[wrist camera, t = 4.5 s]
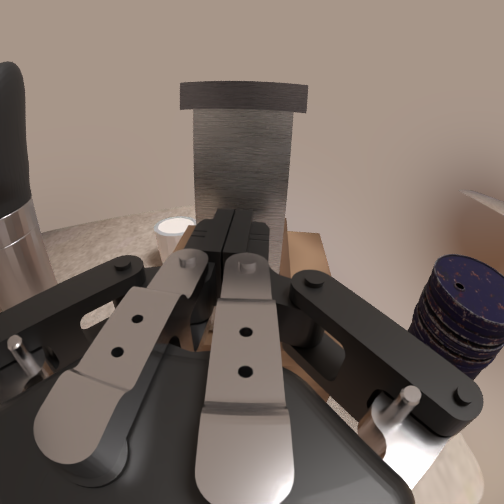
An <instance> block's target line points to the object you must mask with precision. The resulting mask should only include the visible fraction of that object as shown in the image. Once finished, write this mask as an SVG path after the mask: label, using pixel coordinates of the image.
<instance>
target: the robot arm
mask: <svg viewBox="0 0 504 504" xmlns="http://www.w3.org/2000/svg"><path fill="white" fill-rule="evenodd" d="M25 122H26V121H25V88H24V82H23V77H22V74H21V71H20V69H19V68H18V66H17V65H16V64H14V63H13V62H3V63H0V308H1V310H2V312H1V313H0V504H415V500H414V496H413V493H412V491H411V489H412V487H413V486H414V485H415V484H416V483H417V482H418V480H419V479H420V478H421V477H422V475H423V474H424V473H425V472H426V470H427V469H428V468H429V467H430V465H431V464H432V463H433V461H434V460H435V459H436V457H437V456H438V454H439V453H440V452H441V450H442V449H443V447H444V446H445V444H446V443H447V442H448V441H449V440H450V439H452V438H453V437H454V436H455V435H457V434H458V433H459V432H460V431H461V430H462V429H463V428H465V427H466V426H467V425H468V424H469V423H470V422H472V420H474V419H475V418H476V417H477V416H478V415H479V414H480V412H481V410H482V407H483V395H482V392H481V391H480V388H479V387H478V385H477V384H476V383H475V382H474V381H473V380H472V379H470V378H469V377H468V376H467V375H465V374H464V373H463V372H461V371H460V370H459V369H457V368H456V367H455V366H453V365H452V364H451V363H450V362H448V361H447V360H446V359H444V358H443V357H442V356H440V355H439V354H438V353H436V352H435V351H434V350H432V349H431V348H430V347H428V346H427V345H426V344H424V343H423V342H422V341H420V340H419V339H417V338H416V337H415V336H413V335H412V334H411V333H409V332H408V331H407V330H405V329H404V328H403V327H401V326H400V325H398V324H397V323H396V322H394V321H393V320H392V319H390V318H389V317H387V316H386V315H385V314H383V313H382V312H380V311H379V310H378V309H376V308H375V307H373V306H372V305H371V304H369V303H368V302H366V301H365V300H364V299H362V298H361V297H360V296H358V295H356V294H355V293H354V292H353V291H351V290H349V289H348V288H347V287H345V286H344V285H343V284H341V283H340V282H338V281H337V280H335V279H334V278H333V277H331V276H330V275H328V274H326V273H324V272H322V271H318V270H310V269H309V270H302V271H299V272H297V273H295V274H294V275H293V276H292V278H288V277H285V276H282V275H280V274H278V273H276V272H275V271H273V270H272V269H271V268H270V266H269V263H268V259H269V235H270V228H269V227H268V226H267V224H266V223H265V222H253V210H238V209H236V211H235V209H219V208H218V209H217V211H216V213H215V215H214V217H213V219H204V220H202V221H201V222H199V223H198V224H197V225H196V227H195V228H194V231H193V232H192V234H191V236H190V238H189V240H188V241H187V243H186V245H185V247H184V249H182V250H178V251H176V252H174V253H172V254H171V255H169V257H168V258H167V259H166V261H165V262H164V263H163V265H162V266H159V267H151V268H144V265H143V261H142V260H141V259H140V258H139V257H137V256H132V255H125V256H120V257H117V258H114V259H112V260H110V261H107V262H105V263H103V264H101V265H98V266H96V267H94V268H92V269H90V270H87V271H85V272H83V273H81V274H79V275H77V276H74V277H72V278H70V279H68V280H66V281H64V282H62V283H59V284H58V283H57V280H56V278H55V275H54V272H53V269H52V266H51V263H50V261H49V257H48V254H47V251H46V248H45V245H44V242H43V238H42V235H41V232H40V228H39V224H38V220H37V217H36V213H35V209H34V204H33V200H32V195H31V190H30V184H29V162H28V154H27V145H26V123H25ZM111 301H113V304H114V307H115V310H114V312H113V313H112V315H111V316H110V317H109V318H107V319H105V320H103V321H101V322H99V323H97V324H95V325H94V326H92V327H90V328H88V329H81V326H80V321H81V319H82V317H83V316H84V315H85V314H87V313H89V312H91V311H93V310H95V309H97V308H99V307H101V306H103V305H105V304H107V303H109V302H111ZM214 306H216V313H215V321H214V328H213V336H212V344H211V351H202V349H203V346H204V343H205V340H206V338H207V335H208V332H209V329H210V326H211V324H212V313H213V309H214ZM324 331H327V332H328V333H329V334H330V335H331V336H332V337H334V338H335V339H336V340H337V341H338V342H339V343H340V344H341V345H342V346H343V348H344V349H343V348H342V347H341V346H340V345H339V344H337V343H336V342H335V341H334V340H333V339H332V338H330V337H329V336H328V335H327V334H326V333H325V332H324ZM280 342H281V343H282V348H283V349H284V351H285V352H286V353H287V354H288V355H289V356H290V357H291V358H292V359H293V360H294V361H295V362H296V363H297V364H298V365H299V366H300V367H301V368H302V369H303V370H304V371H305V372H306V373H307V374H308V375H309V376H310V377H311V378H312V379H313V380H314V381H315V382H316V383H317V384H318V385H319V386H320V387H321V388H323V389H324V390H325V391H326V392H327V393H328V394H329V395H330V396H331V397H332V398H333V399H334V400H335V401H336V402H337V403H338V404H339V405H340V406H341V407H343V408H344V409H345V410H346V411H347V412H348V413H349V414H350V415H351V416H352V417H353V418H354V419H355V420H357V421H358V422H359V424H358V435H357V434H356V433H355V432H354V431H353V430H352V429H351V428H350V427H349V426H348V425H347V423H346V422H345V421H344V420H343V419H342V418H341V417H340V416H339V415H338V414H337V413H336V412H335V411H334V410H333V409H332V408H331V407H330V406H329V405H328V404H327V403H326V402H325V401H324V400H323V399H322V398H321V397H320V396H319V395H318V394H317V393H316V391H315V390H314V389H313V388H312V387H311V386H310V385H309V384H308V383H307V382H306V381H305V380H303V379H302V378H301V377H300V376H298V375H297V374H295V373H294V372H292V371H290V370H288V369H286V368H284V367H282V359H281V349H280Z"/></svg>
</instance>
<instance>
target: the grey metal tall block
mask: <svg viewBox="0 0 504 504" xmlns="http://www.w3.org/2000/svg"><path fill="white" fill-rule="evenodd" d="M307 94H308V85H299V84H288V83H275V82H255V81H205V82H187V83H180V110H184V109H193V145H194V146H193V149H194V187H195V212H196V225H197V224H198V223H199V222H201V221H202V220H204V219H213V217H214V215H215V213H216V211H217V209H218V208H219V209H235V211H236V209H238V210H253V222H265V223H266V224H267V226H268V227H269V228H270V235H269V259H268V263H269V266H270V268H271V269H272V270H273V271H275V272H276V273H278V274H279V270H280V261H281V251H282V242H283V232H284V221H285V211H286V200H287V189H288V177H289V165H290V152H291V140H292V139H291V138H292V126H293V112H300V113H306V109H307V96H308V95H307ZM215 313H216V306H214V309H213V313H212V324H211V326H210V329H209V330H213V328H214V321H215Z"/></svg>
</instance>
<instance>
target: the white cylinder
mask: <svg viewBox="0 0 504 504" xmlns="http://www.w3.org/2000/svg"><path fill="white" fill-rule="evenodd" d="M188 225H196V220H195V219H193V218H190V217H185V216H176V217H169V218H166V219H163V220H161V221H159V222H158V223H156V225H155V226H154V231H155V235H156V240H157V244H158V248H159V252H160V256H161V260H162V264H163V263H164V262H165V261H166V259H167V258H168V257H169V255H171V254H172V253H173V251H174V249H175V247H176V246H177V244H178V242H179V240H180V239H181V237H182V235H183V234H184V232H185V230H186V229H187V227H188Z"/></svg>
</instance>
